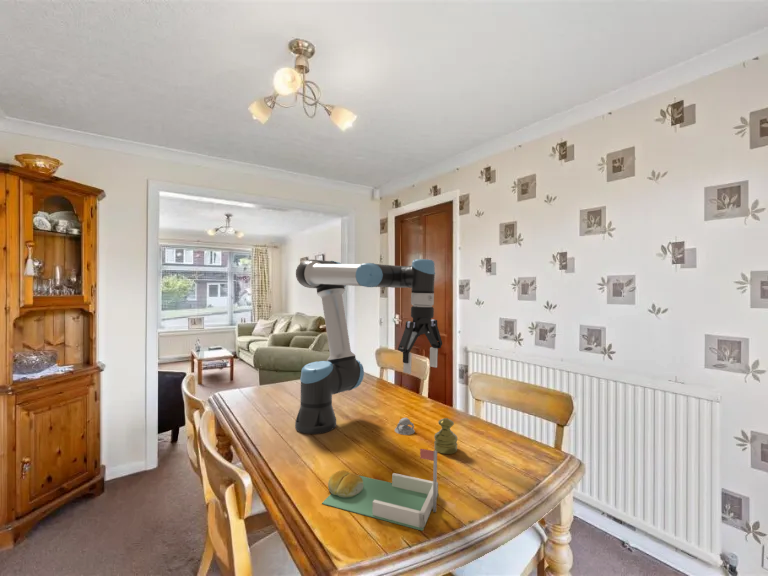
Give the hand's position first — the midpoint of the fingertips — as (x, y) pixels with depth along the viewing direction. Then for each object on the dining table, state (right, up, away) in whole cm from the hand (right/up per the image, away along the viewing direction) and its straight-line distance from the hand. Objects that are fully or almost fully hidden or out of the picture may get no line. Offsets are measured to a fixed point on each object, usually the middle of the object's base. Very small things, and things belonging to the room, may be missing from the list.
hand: (420, 369), depth 119 cm
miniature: (-5, -26, +12) cm, 29 cm away
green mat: (-13, -25, -31) cm, 41 cm away
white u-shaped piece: (-6, -25, -33) cm, 42 cm away
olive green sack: (+8, -26, -3) cm, 27 cm away
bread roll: (-22, -25, -27) cm, 43 cm away
